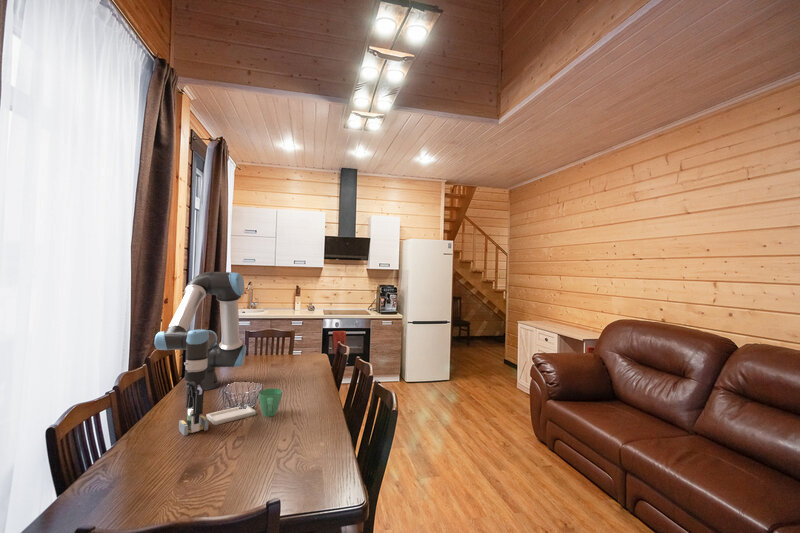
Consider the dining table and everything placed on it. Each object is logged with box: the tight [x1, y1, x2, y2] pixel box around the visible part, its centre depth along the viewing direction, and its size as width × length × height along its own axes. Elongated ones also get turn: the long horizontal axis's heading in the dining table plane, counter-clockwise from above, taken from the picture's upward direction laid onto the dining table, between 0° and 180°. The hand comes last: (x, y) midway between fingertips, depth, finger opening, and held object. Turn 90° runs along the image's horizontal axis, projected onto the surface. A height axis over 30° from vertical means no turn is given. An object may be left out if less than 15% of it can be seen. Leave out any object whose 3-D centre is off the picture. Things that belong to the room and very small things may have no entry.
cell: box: [186, 406, 193, 430], centre depth 141 cm, size 4×4×8 cm
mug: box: [258, 387, 283, 418], centre depth 157 cm, size 15×10×10 cm
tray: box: [205, 405, 257, 426], centre depth 155 cm, size 10×17×2 cm, turn 136°
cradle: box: [178, 414, 209, 437], centre depth 141 cm, size 7×8×4 cm
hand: (193, 429), depth 141 cm, fingers closed on cell, 4 cm apart
